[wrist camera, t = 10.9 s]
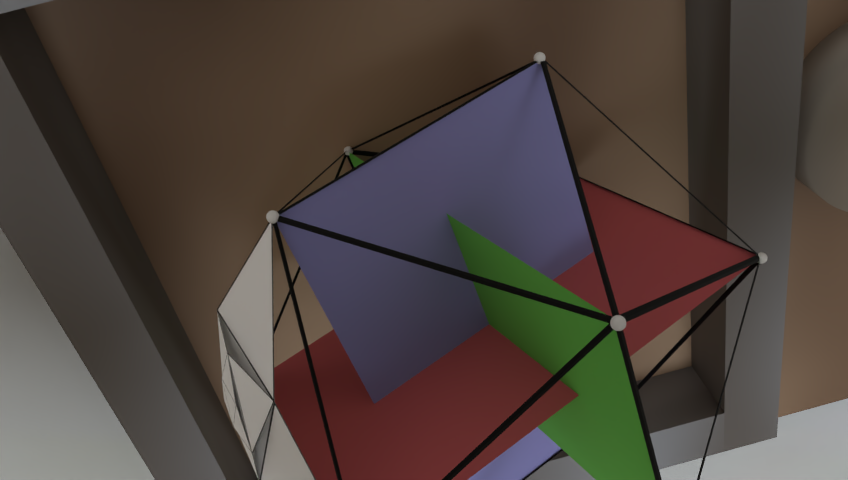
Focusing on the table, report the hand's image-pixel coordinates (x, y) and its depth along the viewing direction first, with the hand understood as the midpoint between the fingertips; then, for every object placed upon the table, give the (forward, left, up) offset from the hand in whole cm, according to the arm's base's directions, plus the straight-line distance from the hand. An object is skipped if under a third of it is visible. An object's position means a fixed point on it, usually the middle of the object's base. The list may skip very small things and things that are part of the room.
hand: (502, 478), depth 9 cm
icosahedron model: (-1, 0, -6) cm, 6 cm away
